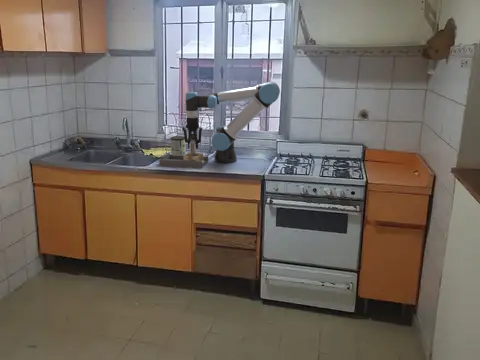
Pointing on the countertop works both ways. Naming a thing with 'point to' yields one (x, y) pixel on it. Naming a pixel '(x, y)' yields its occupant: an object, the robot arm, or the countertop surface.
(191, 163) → the tray
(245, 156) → the countertop surface
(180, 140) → the coffee can
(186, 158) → the wooden peg stand
